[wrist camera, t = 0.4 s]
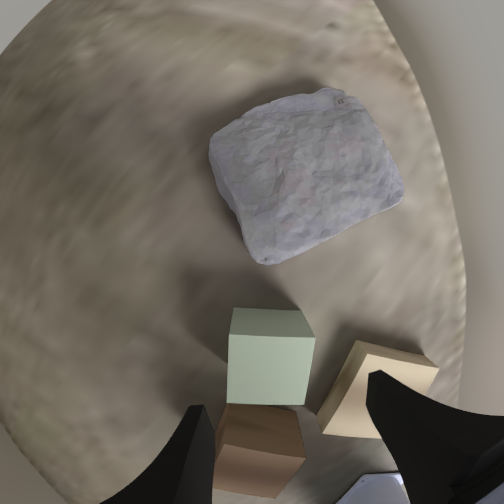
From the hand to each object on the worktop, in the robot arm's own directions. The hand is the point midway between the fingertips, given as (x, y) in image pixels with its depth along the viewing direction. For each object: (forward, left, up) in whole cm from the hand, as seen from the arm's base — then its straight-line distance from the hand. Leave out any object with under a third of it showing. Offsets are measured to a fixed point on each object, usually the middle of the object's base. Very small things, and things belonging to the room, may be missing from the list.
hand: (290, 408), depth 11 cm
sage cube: (-1, 0, -10) cm, 10 cm away
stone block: (+11, +2, -11) cm, 16 cm away
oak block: (-3, -11, -11) cm, 16 cm away
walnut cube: (-10, -2, -10) cm, 15 cm away
